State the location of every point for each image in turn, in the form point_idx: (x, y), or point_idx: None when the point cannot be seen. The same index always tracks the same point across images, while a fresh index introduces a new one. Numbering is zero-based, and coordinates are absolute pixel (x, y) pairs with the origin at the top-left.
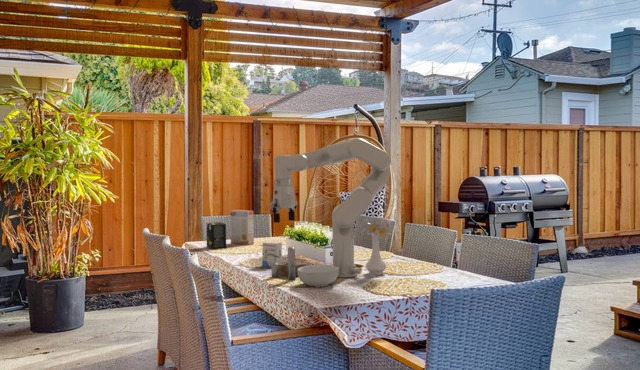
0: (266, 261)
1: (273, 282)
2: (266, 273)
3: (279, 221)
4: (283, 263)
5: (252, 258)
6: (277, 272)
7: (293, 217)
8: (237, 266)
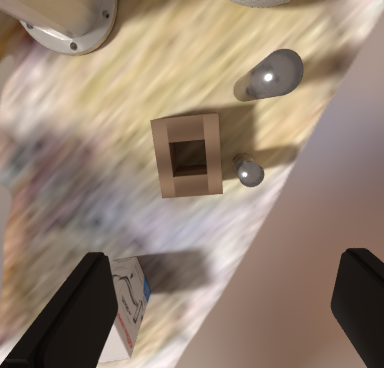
0: (143, 292)
1: (307, 109)
2: (215, 220)
3: (362, 252)
4: (195, 183)
5: (101, 364)
6: (245, 156)
7: (90, 277)
8: (194, 328)
